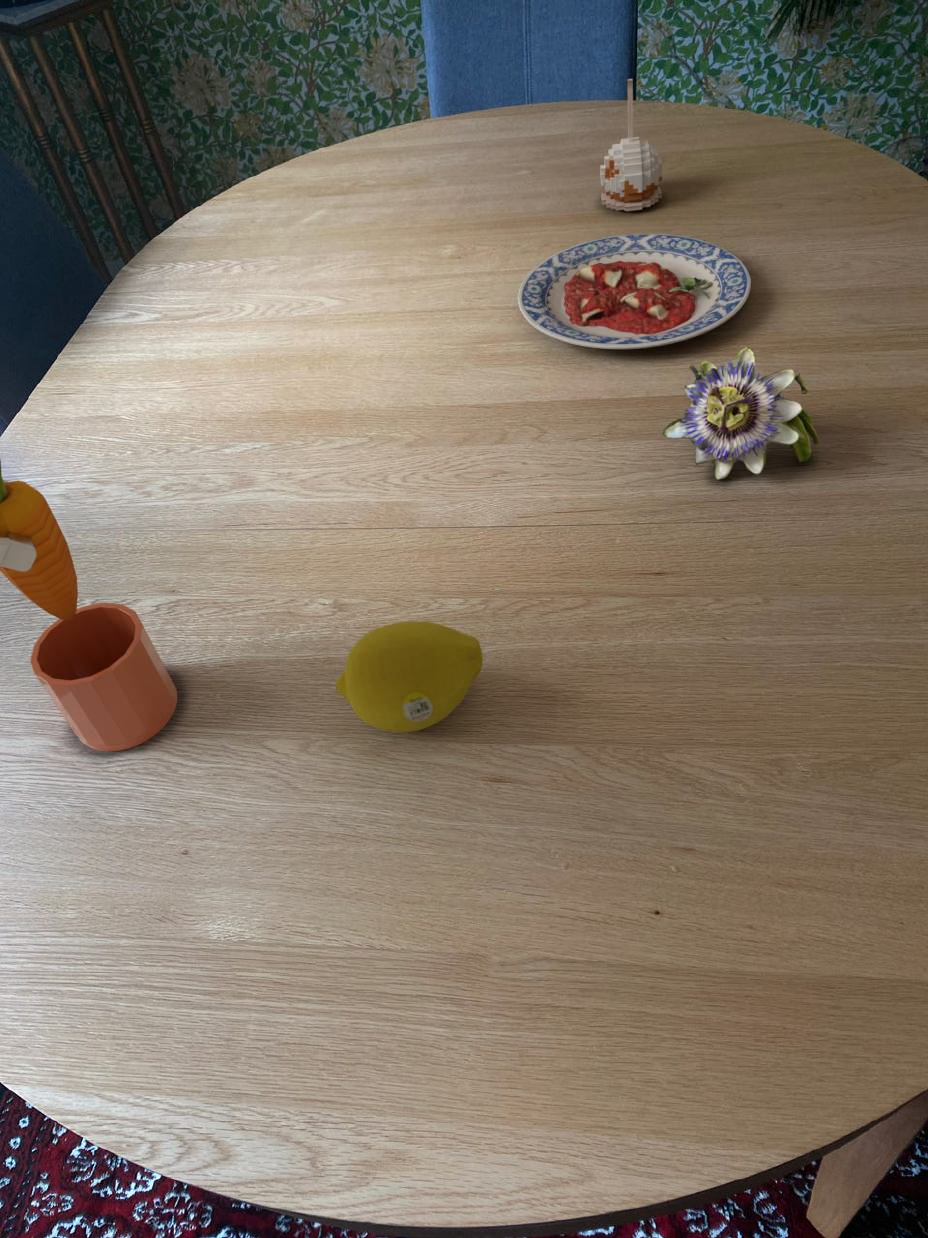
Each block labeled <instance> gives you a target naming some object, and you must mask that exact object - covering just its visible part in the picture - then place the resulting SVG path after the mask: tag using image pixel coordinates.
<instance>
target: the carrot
mask: <svg viewBox="0 0 928 1238" xmlns="http://www.w3.org/2000/svg"><path fill="white" fill-rule="evenodd" d="M3 480H4V478H3V476H2V461H1V459H0V538H5V537H6V535H7V533H8V531H9V532H12V533H17V534H20V535H21V536H28V537H31V538H32V539H33V540H34V544H35V548H36V554H37V556H36V559H35V560H34V562H33V564H32V566H31V568H30V569H29V570H27V571H23V572H21V571H17V570H13V569H9V568H5V567H1V566H0V572H1V573H2V574H3V575H4V577H5V578H6V579H7V580H8V581H9V582H10V583H11V584H12V585H13V586H14V587H15V588H16V589H17V590H19V592H20V593H21V594H22V595H23V596H25V597H26V598H27V599H28V600H29V601H30V602H32V603H33V604H35V605H36V606H37V607H38V608H40V609H41V610H43V611H44V612H46V613H48V614H49V615H51V616H53V617H55V618H58V619H62V620H72V619H73V618H74V616H75V614H76V610H77V609H78V599H79V598H78V597H79V591H78V589H79V588H78V576H77V572H76V569H75V564H74V561H73V557H72V554H71V551H70V548H69V545H68V544H69V543H68V542H67V539H66V537H65V535H64V534H63V531H62V530H61V529H62V528H61V527H60V525H59V523H58V521H57V519H56V517H55V515H54V513H53V511H52V509H51V508H50V507H51V506H50V505H49V503H48V501H47V500H46V498H45V497H44V495H43V494H42V493H41V492H40V491H39V490H37V489H36V488H35V487H33V486H32V485H30V484H28V483H27V482H25V481H23V480H12V481H9V482H3Z"/></svg>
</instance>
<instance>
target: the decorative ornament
mask: <svg viewBox="0 0 928 1238" xmlns="http://www.w3.org/2000/svg"><path fill="white" fill-rule="evenodd" d="M633 86H634V85H633V78H628V79H627V132H628V133H627V137H626V138H621V139H620V143H614V144H612V145H611V148H610V149H607V152H608V155H604V157H603V158H604V162H603V163H604V164H601V165H599V167H600V168H599V174H600V175H599V176H600V186H601V187H604V192H603V193H600V199H601V206H604V205H606V209H609V208H610V209H611V210H615V211H624V212H633V211H640V210H643V208H651V206H652V205H653V206H654V205H655V203H659V199H663V193H662V188H661V186H659V184H660V183H659V182H662V181H663V159H662V156H659V154H658V150H657V147H655V148H654V147H653V144H652V143H650V144H649V140H647V139H646V140H640V136H634V108H633V107H634V101H633V100H634V95H633V94H634V93H633V91H634V89H633V88H634V87H633Z"/></svg>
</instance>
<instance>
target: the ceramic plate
mask: <svg viewBox="0 0 928 1238" xmlns="http://www.w3.org/2000/svg"><path fill="white" fill-rule="evenodd" d="M751 283H752V280H751V275H750V273H749V271H748V268H747V267H746V266H745V264H744V263H743V261H742V260H740V258H738V257H736V256H735V255H734V254H733V253H731V252H730V251H728V250H727V249H725V248H724V247H721V246H718V245H717V244H713V243H711V242H708V241H705V240H702V239H698V238H694V237H689V236H683V235H675V234H668V233H632V234H621V235H620V234H619V235H614V236H606V237H602V238H598V239H594V240H589V241H585V242H581V243H579V244H576V245H574V246H571V247H568V248H566V249H563V250H561V251H558V252H556V253H555V254H552V255H551V256H549V257H547V258H546V259H545V260H543V261H542V262H540V263H539V264H537V265H536V266H535V267H534V268H533V269H531V270H530V271H529V273H528V274H527V275H526V276H525V278H524V279H523V281H522V282H521V284H520V286H519V289H518V293H517V304H518V307H519V310H520V313H521V314H522V316H523V318H524V319H525V320H526V321H527V322H528V323H529V324H530V325H531V326H533V327H534V328H535V329H536V330H538V331H539V332H541V333H542V334H545V335H546V336H549V337H551V338H553V339H555V340H558V341H560V342H564V343H566V344H567V343H568V344H572V345H576V346H579V347H586V348H594V349H605V350H639V349H647V348H654V347H655V348H656V347H661V346H666V345H671V344H675V343H680V342H682V341H686V340H687V341H688V340H689V339H692V338H695V337H698V336H700V335H703V334H706V333H708V332H709V331H712V330H714V329H715V328H717V327H719V326H721V325H722V324H724V323H726V322H727V321H728V320H730V319H731V318H732V317H734V316H735V315H736V314H737V313H738V312H739V311H740V310H741V309H742V307H743V306H744V305H745V303H746V302H747V299H748V298H749V295H750V292H751Z"/></svg>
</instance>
